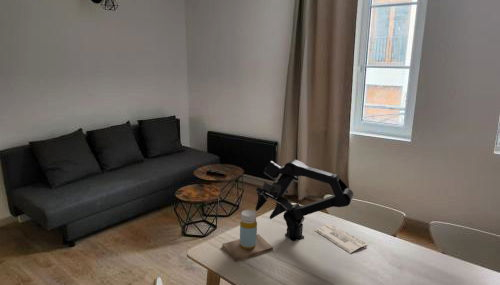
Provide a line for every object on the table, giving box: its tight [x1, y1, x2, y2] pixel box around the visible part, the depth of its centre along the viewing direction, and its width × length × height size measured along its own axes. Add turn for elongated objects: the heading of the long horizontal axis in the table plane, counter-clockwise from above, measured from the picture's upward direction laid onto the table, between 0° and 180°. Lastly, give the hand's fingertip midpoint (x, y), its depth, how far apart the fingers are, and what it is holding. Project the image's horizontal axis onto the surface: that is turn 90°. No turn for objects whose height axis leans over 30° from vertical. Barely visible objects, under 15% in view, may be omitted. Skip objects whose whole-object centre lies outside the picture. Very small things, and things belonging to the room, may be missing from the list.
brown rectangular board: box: [221, 233, 274, 263], centre depth 147 cm, size 18×12×2 cm, turn 119°
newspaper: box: [314, 223, 368, 254], centre depth 158 cm, size 23×12×2 cm, turn 32°
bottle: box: [239, 209, 258, 249], centre depth 145 cm, size 7×7×15 cm
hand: (262, 214), depth 148 cm, fingers open, 9 cm apart
